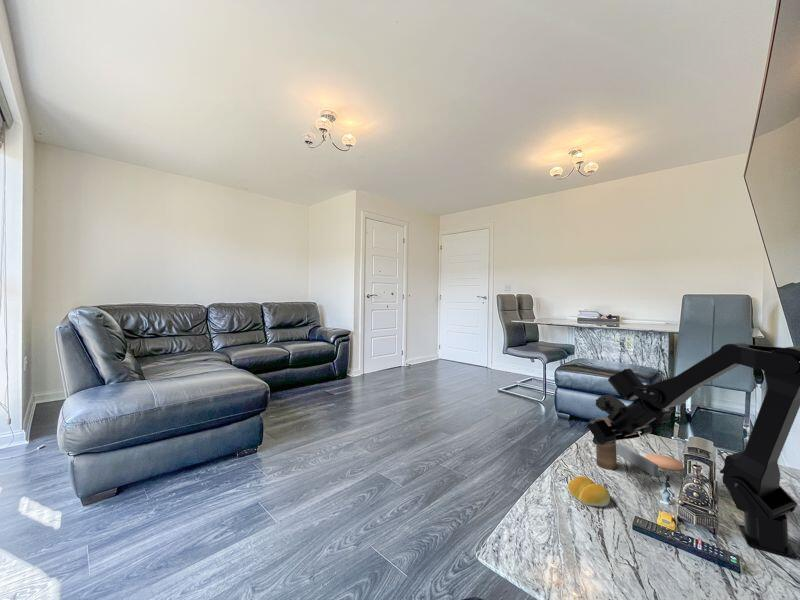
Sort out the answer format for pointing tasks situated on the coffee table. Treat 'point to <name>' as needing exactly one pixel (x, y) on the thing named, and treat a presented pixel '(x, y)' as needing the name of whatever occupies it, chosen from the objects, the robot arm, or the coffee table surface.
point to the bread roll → (589, 492)
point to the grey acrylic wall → (637, 460)
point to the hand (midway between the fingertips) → (601, 440)
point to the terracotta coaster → (665, 462)
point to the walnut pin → (606, 452)
